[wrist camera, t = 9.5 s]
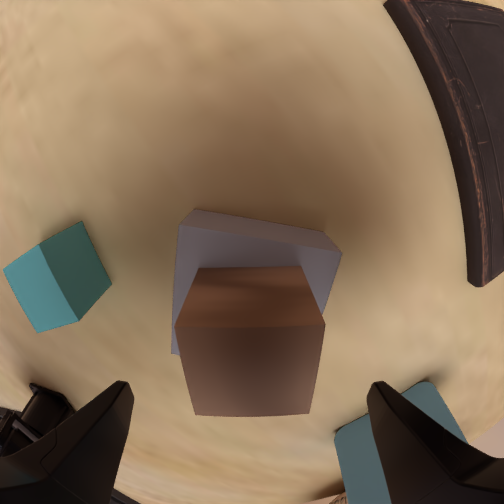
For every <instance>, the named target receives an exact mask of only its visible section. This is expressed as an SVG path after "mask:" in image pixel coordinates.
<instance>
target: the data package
mask: <svg viewBox="0 0 504 504" xmlns="http://www.w3.org/2000/svg"><path fill="white" fill-rule="evenodd" d="M401 395H402V396H404V397H405V398H406V399H407V400H409V401H410V402H411V403H413V404H414V405H415V406H417V407H418V408H419V409H420V410H422V411H423V412H424V413H426V414H427V415H428V416H430V417H431V418H432V419H434V420H435V421H436V422H437V423H439V424H440V425H441V426H443V427H444V428H445V429H447V430H448V431H450V432H451V433H452V434H454V435H455V436H456V437H458V438H459V439H461V440H462V441H464V442H466V443H467V444H468V442H467V440H466V438H465V437H464V435H463V433H462V431H461V429H460V428H459V426H458V424H457V422H456V421H455V419H454V417H453V415H452V414H451V412H450V410H449V409H448V407H447V405H446V404H445V402H444V400H443V399H442V397H441V396H440V394H439V392H438V391H437V389H436V388H435V386H434V385H433V384H432V383H430V382H420V383H418V384H416V385H414V386H413V387H411V388H410V389H408V390H407V391H405V392H404V393H402V394H401ZM334 443H335V447H336V451H337V456H338V460H339V464H340V469H341V473H342V477H343V482H344V486H345V491H346V496H347V500H348V504H391V500H390V496H389V492H388V488H387V484H386V480H385V476H384V472H383V469H382V465H381V461H380V458H379V454H378V451H377V447H376V444H375V441H374V437H373V433H372V428H371V422H370V416H369V413H368V414H366V415H365V416H363V417H361V418H359V419H357V420H355V421H353V422H351V423H349V424H347V425H345V426H343V427H342V428H341V429H340V430H339V431H338V432H337V433H336V435H335V439H334Z"/></svg>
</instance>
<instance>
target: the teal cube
mask: <svg viewBox="0 0 504 504" xmlns="http://www.w3.org/2000/svg"><path fill="white" fill-rule="evenodd" d="M3 272H4V274H5V276H6V278H7V280H8V282H9V284H10V286H11V288H12V290H13V292H14V294H15V296H16V298H17V300H18V301H19V303H20V305H21V307H22V309H23V310H24V312H25V314H26V315H27V317H28V319H29V320H30V322H31V324H32V325H33V327H34V329H35V330H36V332H37V333H40V332H44V331H47V330H50V329H54V328H57V327H61V326H64V325H68V324H71V323H74V322H78V321H80V319H81V318H82V317H83V316H84V315H85V314H86V312H87V311H88V310H89V309H90V308H91V307H92V306H93V305H94V303H95V302H96V301H97V300H98V299H99V298H100V297H101V296H102V294H103V293H104V292H105V291H106V290H107V289H108V288H109V287H110V286H111V285H112V283H111V281H110V279H109V277H108V276H107V274H106V272H105V270H104V268H103V266H102V264H101V262H100V260H99V258H98V256H97V253H96V251H95V249H94V247H93V245H92V243H91V241H90V238H89V236H88V234H87V232H86V229H85V227H84V225H83V222H82V221H81V222H79V223H77V224H75V225H73V226H71V227H69V228H67V229H66V230H64V231H62V232H60V233H58V234H56V235H54V236H52V237H51V238H49V239H47V240H45V241H43V242H42V243H40V244H38V245H37V246H35V247H34V248H32V249H31V250H29V251H28V252H26V253H25V254H23V255H22V256H21V257H19V258H18V259H16V260H15V261H13V262H12V263H11V264H9V265H8V266H7V267H5V268H4V269H3Z"/></svg>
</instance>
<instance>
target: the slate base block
mask: <svg viewBox="0 0 504 504" xmlns="http://www.w3.org/2000/svg"><path fill="white" fill-rule="evenodd" d="M341 255H342V252H341V251H340V250H339V249H338V247H337V246H336V245H335V244H334V243H333V242H332V241H331V240H330V238H329V237H328V236H327V235H326V234H325V233H324V232H321V231H316V230H310V229H305V228H300V227H295V226H289V225H284V224H279V223H273V222H268V221H262V220H257V219H251V218H245V217H239V216H233V215H227V214H221V213H215V212H209V211H203V210H197V209H194V210H193V211H192V212H191V213H190V214H189V215H188V216H187V217H186V218H185V219H184V220H183V221H182V222H181V223H180V224H179V229H178V239H177V250H176V262H175V276H174V292H173V312H172V348H171V354H176V355H180V353H179V348H178V343H177V339H176V334H175V329H174V325H175V323H176V320H177V318H178V315H179V313H180V311H181V308H182V306H183V303H184V301H185V299H186V296H187V294H188V291H189V289H190V287H191V284H192V282H193V280H194V277H195V275H196V273H197V270H198V268H221V267H276V266H301V267H302V269H303V272H304V274H305V276H306V279H307V281H308V283H309V286H310V288H311V290H312V293H313V295H314V297H315V300H316V302H317V305H318V307H319V310H320V312H321V314H323V311H324V308H325V305H326V303H327V300H328V297H329V294H330V291H331V288H332V284H333V281H334V278H335V275H336V272H337V269H338V265H339V262H340V259H341Z"/></svg>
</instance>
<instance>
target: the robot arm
mask: <svg viewBox="0 0 504 504" xmlns="http://www.w3.org/2000/svg"><path fill="white" fill-rule="evenodd" d="M29 387H30V389H31V390H32V392H33V393H34V394H33V396H32V397H31V399H30V400H29V402H28V403H27V405H26V406H25V408H24V410H23V411H22V413H21V414H20V416H18V414H17V413H15V412H14V413H12V412H11V411H9V410H7V411H6V413H5V414H4V416H3V417H2V419H1V421H0V504H109V503H110V499H111V495H112V491H113V487H114V483H115V479H116V475H117V471H118V468H119V464H120V460H121V457H122V453H123V450H124V446H125V443H126V439H127V436H128V432H129V426H130V421H131V415H132V410H133V404H134V395H133V393H132V390H131V388H130V385H129V383H128V382H125V381H120V380H118V381H116V382H115V383H113V384H112V385H111V386H110V387H108V388H107V389H106V390H104V391H103V392H102V393H100V394H99V395H98V396H97V397H95V398H94V399H93V400H91V401H90V402H89V403H88V404H86V405H85V406H84V407H82V408H81V409H80V410H78V411H77V412H76V413H74V411H73V410H72V408H71V406H70V405H69V403H68V402H67V400H66V398H65V397H64V396H63V395H61V394H59V393H56V392H53V391H50V390H48V389H45V388H42V387H40V386H37V385H34V384H32V383H30V385H29ZM367 405H368V411H369V416H370V422H371V428H372V433H373V437H374V441H375V444H376V447H377V451H378V454H379V458H380V461H381V465H382V469H383V472H384V476H385V480H386V484H387V488H388V492H389V496H390V500H391V504H504V458H495V457H491V456H489V455H487V454H485V453H483V452H482V451H480V450H478V449H476V448H474V447H473V446H471V445H469V444H467V443H466V442H464V441H462V440H461V439H459V438H458V437H456V436H455V435H454V434H452V433H451V432H450V431H448V430H447V429H445V428H444V427H443V426H441V425H440V424H439V423H437V422H436V421H435V420H434V419H432V418H431V417H430V416H428V415H427V414H426V413H424V412H423V411H422V410H420V409H419V408H418V407H417V406H415V405H414V404H413V403H411V402H410V401H409V400H407V399H406V398H405V397H404V396H402V395H401V394H400V393H398V392H397V391H396V390H395V389H393V388H392V387H391V386H389V385H388V384H387V383H386V382H384V381H378V382H374V383H373V384H372V385H371V388H370V390H369V392H368V395H367ZM12 425H13V426H14V427H15V428H16V429H13V428H12V427H11V426H12Z"/></svg>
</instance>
